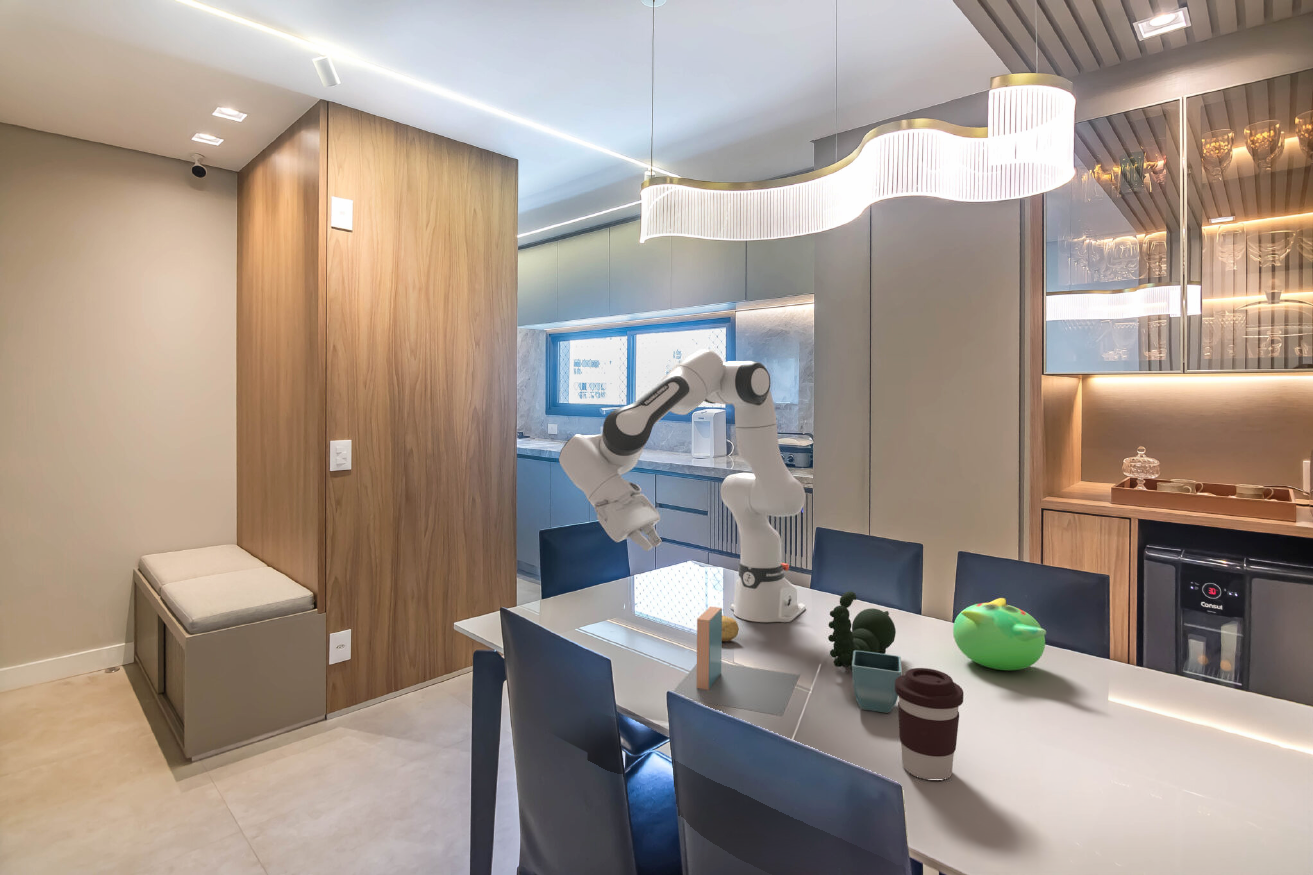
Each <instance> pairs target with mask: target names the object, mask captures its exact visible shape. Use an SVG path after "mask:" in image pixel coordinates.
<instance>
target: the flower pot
mask: <svg viewBox="0 0 1313 875" xmlns="http://www.w3.org/2000/svg"><path fill="white" fill-rule="evenodd" d="M851 673H852V686H853V693H854V697H855V699H856V701H857V704H858V705H859V707H860V708H861V710H865V711H873V712H878V713H879V712H880V713H885V714H889V713H891V711H892V710H893V709H894V708H895V705H896V703H897V701H898V699H899V696H898V695H897V694H896V692H895V680H896V679H897V678H898V677H899V676H902V675H903V670H902V659H901V656H900V655H894V654H888V653H887V654H886V653H885V654H880V653H873V652H865V651H856V650H855V651H854V652H853V661H852V671H851Z"/></svg>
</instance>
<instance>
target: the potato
mask: <svg viewBox="0 0 1313 875" xmlns="http://www.w3.org/2000/svg"><path fill="white" fill-rule="evenodd" d="M739 630H740V629H739V624H738V622H737V621H736V619H734V618H732V617H729V616H726V615H724V614H722V642H730V641H732V640H733V639H736V638H737V637H738V635H739Z"/></svg>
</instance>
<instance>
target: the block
mask: <svg viewBox="0 0 1313 875" xmlns="http://www.w3.org/2000/svg"><path fill="white" fill-rule="evenodd" d="M722 608H723V607H719V606H718V607H717V606H709V607H708V608H707V609H706V610H704V612H703V613H702V614H701V615H700V616H699V617H697V619H696V664H697V687H696V688H701V689H707V690H709V688H710V687H711V686H712V684H713V683H714V682H715V680H716V679H717V678H718V676H719V675H720V674H721V663H722V642H723V641H722V615H723V609H722Z"/></svg>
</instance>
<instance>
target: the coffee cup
mask: <svg viewBox="0 0 1313 875" xmlns="http://www.w3.org/2000/svg"><path fill="white" fill-rule="evenodd" d="M895 692H896V694H897V695H898V702H897V713H898V714H897V716H898V735H899V740H900V746H901V748H900V749H901V764H902V767H903V768H904V770H905V771H906V772H907V773H909V774H910V773H911V775H912V776H914V775H915V776H914V777H916V776H918V777H920V778H919V779H921V778H924V779H923V780H925V779H945V778H947V779H949V778H950V777H951V776H950V775H952V773H953V767H954V766H953V765H954V764H953V763H954V755H955V752H956V748H957V741H958V740H957V739H958V730H959V721H960V712H959V707H960V706H961V705H963V703H964V690H963V688H962V687H961V686H960V685H959V684H957V683H956V682H955V681H954V680H953V678H952V677H951V676H950V675H949V674H947V673H946V672H943V671H940V670H937V669H934V668H933V669H932V668H928V667H927V668H926V667H914V668H910V669H908V670H906V672H905V673H904V674H902V675H901V676H899V677H898V678H897V679H896V680H895ZM949 776H950V777H949ZM918 777H917V778H918ZM948 777H949V778H948ZM945 780H946V779H945Z"/></svg>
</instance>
